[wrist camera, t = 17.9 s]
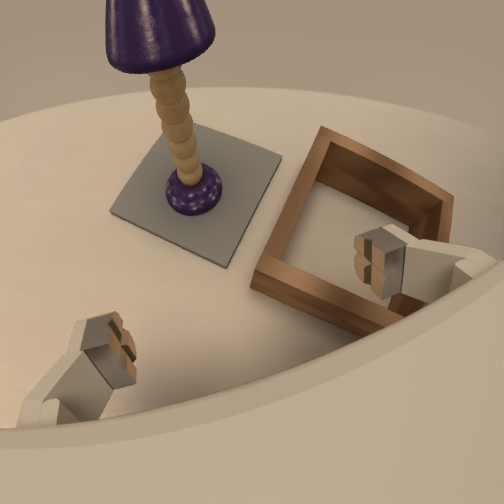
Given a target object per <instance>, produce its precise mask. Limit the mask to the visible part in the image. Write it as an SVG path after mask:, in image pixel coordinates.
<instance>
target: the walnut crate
mask: <svg viewBox="0 0 504 504" xmlns="http://www.w3.org/2000/svg"><path fill="white" fill-rule="evenodd" d="M314 180H318V181H320V182H322V183H324V184H326V185H329V186H331V187H333V188H335V189H337V190H339V191H341V192H343V193H346V194H348V195H350V196H352V197H354V198H356V199H358V200H360V201H362V202H364V203H366V204H368V205H370V206H372V207H374V208H376V209H378V210H380V211H382V212H384V213H386V214H387V215H389V216H391V217H393V218H395V219H397V220H399V221H401V222H402V223H404V224H406V225H408V226H410V228H409V234H411V235H412V236H414V237H415V238H417V239H419V240H421V239H426V240H431V241H437V242H443V243H449V236H450V229H451V220H452V211H453V200H454V196H453V195H451V194H450V193H448V192H446V191H445V190H443V189H442V188H440V187H438V186H437V185H435V184H434V183H432V182H430V181H429V180H427V179H425V178H424V177H422V176H420V175H418V174H417V173H415V172H413V171H412V170H410V169H408V168H406V167H404V166H403V165H401V164H399V163H397V162H395V161H393V160H392V159H390V158H388V157H386V156H384V155H382V154H380V153H378V152H376V151H374V150H372V149H370V148H368V147H366V146H364V145H362V144H360V143H358V142H356V141H354V140H352V139H350V138H348V137H345V136H343V135H341V134H339V133H337V132H335V131H332V130H330V129H328V128H325V127H323V126H321V127H320V129H319V132H318V134H317V136H316V138H315V140H314V142H313V145H312V147H311V149H310V151H309V153H308V156H307V158H306V160H305V162H304V164H303V166H302V169H301V171H300V173H299V175H298V177H297V180H296V182H295V184H294V186H293V188H292V190H291V193H290V195H289V197H288V199H287V201H286V203H285V206H284V208H283V210H282V212H281V214H280V216H279V218H278V221H277V223H276V225H275V227H274V229H273V231H272V233H271V236H270V238H269V240H268V242H267V244H266V246H265V248H264V251H263V253H262V255H261V257H260V259H259V261H258V263H257V266H256V268H255V270H254V274H253V278H252V281H251V285H250V288H252V289H255V290H257V291H259V292H261V293H263V294H266V295H268V296H270V297H272V298H274V299H277V300H279V301H281V302H283V303H286V304H288V305H290V306H292V307H295V308H297V309H299V310H301V311H304V312H306V313H308V314H310V315H313V316H315V317H317V318H320V319H322V320H324V321H327V322H329V323H331V324H334V325H336V326H338V327H341V328H343V329H345V330H348V331H350V332H352V333H355V334H357V335H359V336H362V337H366V336H368V335H370V334H372V333H374V332H376V331H378V330H381V329H383V328H385V327H387V326H389V325H391V324H393V323H395V322H397V321H399V320H401V319H403V318H405V317H407V316H408V315H410V314H412V313H414V312H416V311H418V310H420V309H422V308H423V307H425V306H427V305H429V303H426V302H424V301H421V300H418V299H416V298H413V297H411V296H408V295H405V294H403V293H401V292H400V293H398V294H395V295H393V296H392V298H391V302H390V305H389V308H388V309H386V308H384V307H381V306H379V305H377V304H375V303H373V302H370V301H368V300H366V299H364V298H362V297H360V296H357V295H355V294H353V293H351V292H349V291H346V290H344V289H342V288H340V287H338V286H335V285H333V284H331V283H329V282H327V281H324V280H322V279H320V278H318V277H316V276H313V275H311V274H309V273H307V272H305V271H302V270H300V269H298V268H296V267H294V266H291V265H289V264H287V263H285V262H282V261H280V259H281V257H282V254H283V252H284V250H285V248H286V245H287V243H288V241H289V239H290V236H291V234H292V232H293V229H294V227H295V225H296V222H297V220H298V218H299V216H300V213H301V211H302V209H303V206H304V204H305V202H306V199H307V197H308V194H309V192H310V190H311V187H312V185H313V183H314Z"/></svg>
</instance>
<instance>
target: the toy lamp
mask: <svg viewBox="0 0 504 504" xmlns="http://www.w3.org/2000/svg"><path fill="white" fill-rule="evenodd" d="M105 30H106V32H105V33H106V54H107V58H108V61H109V63H110V64H111V65H112V66H113V67H114V68H115V69H117V70H119V71H122V72H124V73H129V74H132V73H133V74H148V75H149V76H150V77H151V78H150V89H151V92H152V95H153V96H154V98H155V99H156V110H157V113H158V115H159V117H160V118H161V120H162V123H161V124H162V131H163V133H164V135H165V137H166V138H167V145H168V148H169V151H170V152H171V154H172V158H173V163H174V165H175V167H176V169H175V170H174V171H173V172H172V173H171V175H170V176H169V178H168V180H167V183H166V198H167V201H168V203H169V205H170V206H171V207H172V208H173V209H174V210H175V211H176V212H178V213H181V214H183V215H187V216H193V215H200V214H203V213H205V212H207V211H209V210H210V209H212V208H213V207H214V206H215V205H216V204H217V202H218V201H219V199H220V197H221V194H222V182H221V179H220V177H219V175H218V173H217V172H216V171H215V170H214V169H213V168H212V167H210V166H209V165H207V164H205V163H201V162H200V154H199V151H198V149H197V138H196V135H195V133H194V131H193V120H192V117H191V115H190V113H189V106H190V105H189V99H188V96H187V94H186V93H185V88H186V79H185V76H184V73H183V71H182V70H181V69H180V68H181V65H182V64H185V63H187V62H190V61H191V60H193V59H195V58H196V57H198V56H200V55H201V54H202V53H204V52H205V51H206V50H207V49H208V48H209V47H210V45H211V44H212V43H213V41H214V38H215V26H214V23H213V20H212V18H211V15H210V13H209V10H208V7H207V5H206V2H205V0H106V21H105Z"/></svg>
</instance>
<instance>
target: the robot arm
mask: <svg viewBox="0 0 504 504" xmlns="http://www.w3.org/2000/svg"><path fill="white" fill-rule="evenodd" d="M354 248H355V249H356V251H357V254H356V256H355V258H354V267H355V270H356V273H357V275H358V277H359V279H360V280H361V281H362V282H363V283H365V284H369V285H371V290H372V291H373V292H374V293H375V294H376V295H377V296H378V297H379V298H380V299H381V300H383V299H386V298H388V297H391V296H393V295H395V294H398V293H400V292H401V293H403V294H405V295H408V296H411V297H413V298H416V299H418V300H421V301H424V302H426V303H429V305H427V306H425V307H423V308H422V309H420V310H418V311H416V312H414V313H412V314H410V315H408V316H407V317H405V318H403V319H401V320H399V321H397V322H395V323H393V324H391V325H389V326H387V327H385V328H383V329H381V330H378V331H376V332H374V333H372V334H370V335H368V336H366V337H364V338H361V339H359V340H357V341H355V342H353V343H350V344H348V345H346V346H343V347H341V348H339V349H337V350H334V351H332V352H329V353H327V354H325V355H322V356H320V357H317V358H315V359H312V360H310V361H307V362H305V363H302V364H300V365H297V366H295V367H292V368H289V369H287V370H284V371H281V372H278V373H276V374H273V375H270V376H267V377H264V378H261V379H258V380H255V381H252V382H249V383H246V384H243V385H240V386H237V387H234V388H231V389H227V390H224V391H221V392H217V393H214V394H211V395H207V396H203V397H200V398H196V399H192V400H189V401H185V402H181V403H177V404H173V405H169V406H164V407H160V408H156V409H151V410H147V411H142V412H137V413H132V414H127V415H122V416H116V417H110V418H105V419H99V418H100V416H101V414H102V412H103V410H104V408H105V406H106V404H107V402H108V401H109V399H110V397H111V395H112V393H113V390H115V389H119V388H123V387H127V386H130V385H134V384H136V367H135V366H134V364H133V363H134V361H135V360H136V348H135V344H134V341H133V339H132V336H131V335H130V333H129V331H127V330H125V329H123V328H122V326H123V320H122V319H121V317H120V315H119V313H117V312H116V311H114V312H110V313H107V314H103V315H99V316H95V317H92V318H89V319H88V318H87V319H84V320H81V321H78V322H76V323H75V324H74V327H73V331H72V334H71V338H70V341H69V345H68V349H67V352H66V355H63V356H61V358H60V359H59V360H58V361H57V362H56V363H55V364H54V365H53V367H52V368H51V369H50V370H49V371H48V372H47V373H46V375H45V376H44V377H43V378H42V379H41V380H40V382H39V383H38V384H37V385H36V386H35V387H34V389H33V390H32V391H31V392H30V393H29V395H28V396H27V397H26V398H25V399H24V401H23V402H22V405H21V409H20V413H19V417H18V422H17V426H16V428H6V429H0V504H504V258H503V259H502V260H500V261H499V262H498V261H497V260H495V259H494V258H492V257H491V256H489V255H488V254H486V253H485V252H483V251H481V250H480V249H476V248H471V247H465V246H460V245H454V244H449V243H443V242H437V241H431V240H426V239H421V240H419V239H417V238H415V237H414V236H412V235H411V234H409V233H407V232H406V231H404V230H402V229H401V228H399V227H397V226H396V225H394V224H387V225H384V226H382V227H379V228H377V229H374V230H371V231H368V232H366V233H363V234H360V235H358V236H355V239H354Z"/></svg>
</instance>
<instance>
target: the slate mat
mask: <svg viewBox="0 0 504 504" xmlns="http://www.w3.org/2000/svg"><path fill="white" fill-rule="evenodd" d="M193 131H194V133H195V135H196V138H197V149H198V151H199V154H200V162H201V163H205V164H207V165H209V166H210V167H212V168H213V169H214V170H215V171H216V172H217V173H218V175H219V177H220V179H221V182H222V194H221V197H220V199H219V201H218V202H217V204H216V205H215V206H214V207H213V208H212V209H210V210H209V211H207V212H205V213H203V214H200V215H193V216H187V215H183V214H181V213H178V212H176V211H175V210H174V209H173V208H172V207H171V206H170V205H169V203H168V201H167V198H166V183H167V180H168V178H169V176H170V175H171V173H172V172H173V171H174V170H175V169H176V167H175V165H174V163H173V158H172V154H171V152H170V151H169V148H168V145H167V138H166V137H165V135H164V133H162V135H161V136H160V137H159V139H158V140H157V141H156V143H155V144H154V145H153V147H152V148H151V149H150V151H149V152H148V153H147V155H146V156H145V158H144V159H143V160H142V162H141V163H140V165H139V166H138V167H137V169H136V170H135V172H134V173H133V175H132V176H131V178H130V179H129V181H128V182H127V184H126V185H125V187H124V188H123V190H122V191H121V193H120V194H119V196H118V197H117V199H116V200H115V202H114V204H113V205H112V207H111V208H110V210H109V211H110V212H111V213H112V214H114V215H116V216H118V217H120V218H122V219H124V220H126V221H128V222H130V223H132V224H134V225H136V226H138V227H140V228H142V229H144V230H146V231H148V232H150V233H152V234H154V235H157V236H159V237H161V238H163V239H165V240H167V241H169V242H171V243H173V244H175V245H177V246H179V247H182V248H184V249H186V250H188V251H190V252H192V253H194V254H196V255H198V256H201V257H203V258H205V259H207V260H209V261H211V262H213V263H215V264H218V265H220V266H222V267H224V268H227V266H228V264H229V262H230V260H231V258H232V256H233V254H234V252H235V250H236V248H237V246H238V244H239V242H240V240H241V238H242V236H243V234H244V232H245V230H246V228H247V226H248V224H249V222H250V220H251V218H252V216H253V214H254V212H255V210H256V208H257V206H258V204H259V202H260V201H261V199H262V197H263V195H264V193H265V191H266V189H267V187H268V185H269V183H270V181H271V179H272V177H273V175H274V173H275V171H276V169H277V167H278V165H279V163H280V161H281V159H282V155H279V154H277V153H274V152H272V151H269V150H267V149H264V148H262V147H259V146H257V145H254V144H251V143H249V142H246V141H244V140H241V139H238V138H236V137H233V136H230V135H227V134H225V133H222V132H219V131H216V130H213V129H210V128H207V127H204V126H202V125H199V124H196V123H193Z"/></svg>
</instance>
